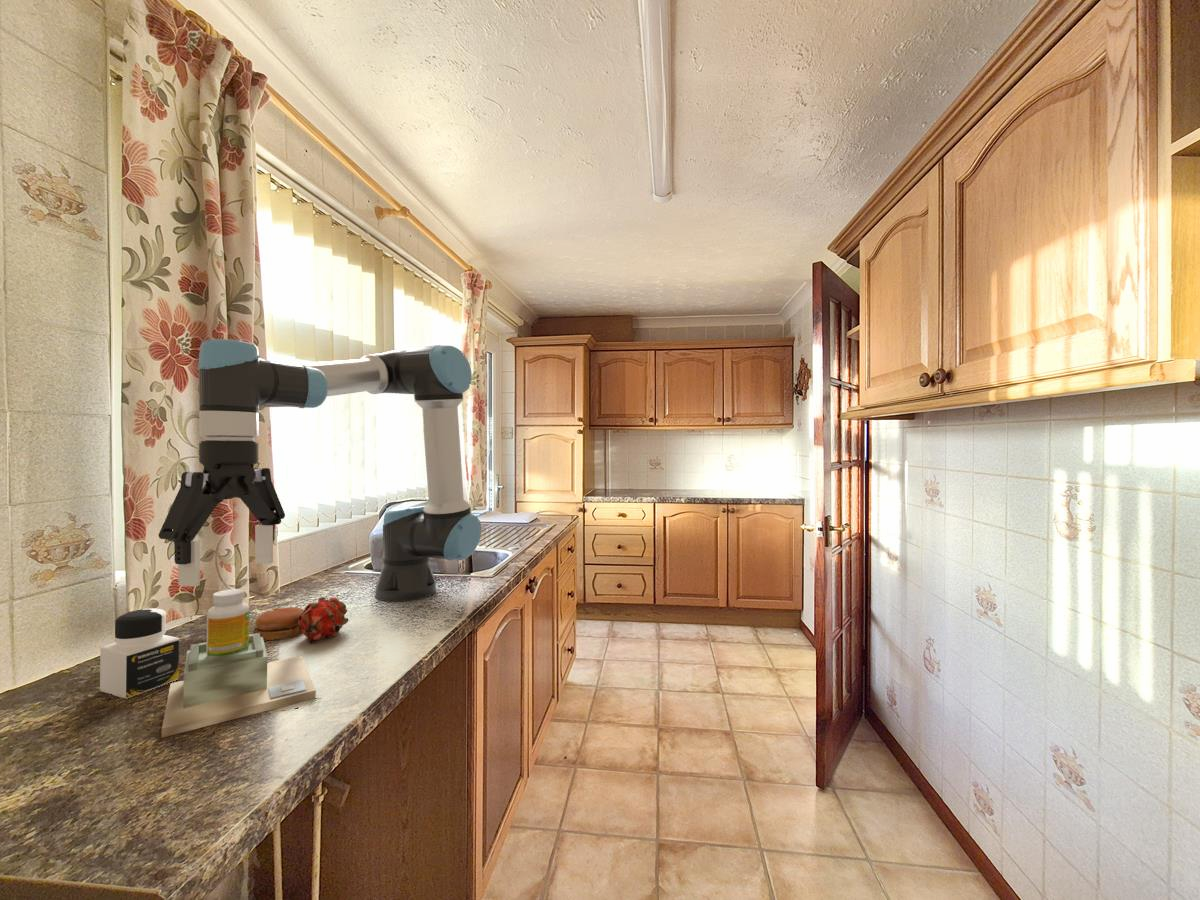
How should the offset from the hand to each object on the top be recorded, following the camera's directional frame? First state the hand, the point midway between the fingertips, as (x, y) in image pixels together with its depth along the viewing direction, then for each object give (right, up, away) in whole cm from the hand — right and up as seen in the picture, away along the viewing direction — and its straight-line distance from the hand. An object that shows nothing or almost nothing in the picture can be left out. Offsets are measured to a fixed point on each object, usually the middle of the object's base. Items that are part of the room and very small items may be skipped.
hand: (229, 573), depth 78 cm
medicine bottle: (-16, -19, +2) cm, 25 cm away
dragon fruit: (+2, -19, +23) cm, 30 cm away
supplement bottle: (0, -13, 0) cm, 13 cm away
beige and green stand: (+2, -19, -1) cm, 19 cm away
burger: (-8, -19, +26) cm, 33 cm away
